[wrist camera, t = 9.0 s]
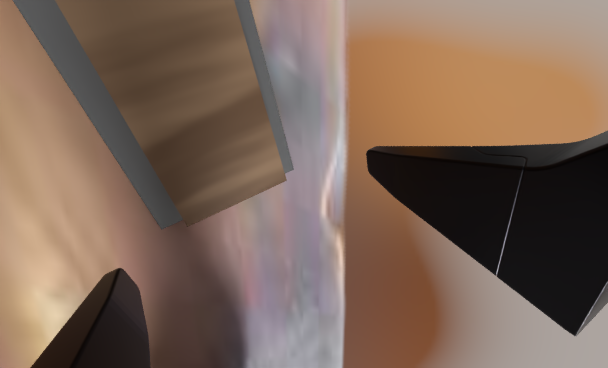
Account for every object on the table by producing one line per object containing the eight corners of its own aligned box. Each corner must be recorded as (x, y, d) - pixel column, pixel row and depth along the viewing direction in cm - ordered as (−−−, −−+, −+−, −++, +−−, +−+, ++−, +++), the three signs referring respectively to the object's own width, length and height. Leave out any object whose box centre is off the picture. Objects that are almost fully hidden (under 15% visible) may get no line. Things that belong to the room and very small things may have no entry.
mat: (291, 167, 23) (293, 169, 23) (161, 226, 20) (161, 229, 20) (231, -58, 16) (233, -60, 15) (-1, -24, 12) (-5, -27, 12)
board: (286, 180, 19) (224, -35, 13) (187, 226, 17) (52, -5, 10) (268, 164, 22) (209, -19, 15) (181, 202, 20) (71, 7, 13)
